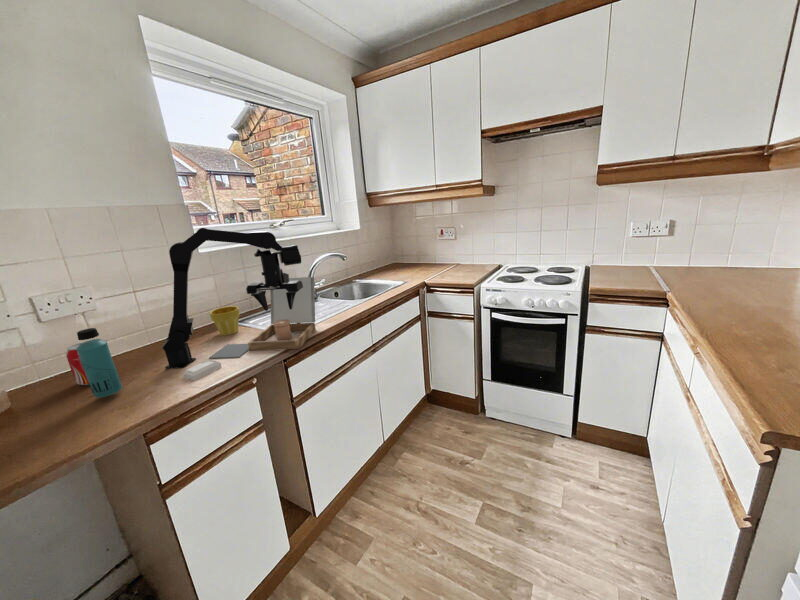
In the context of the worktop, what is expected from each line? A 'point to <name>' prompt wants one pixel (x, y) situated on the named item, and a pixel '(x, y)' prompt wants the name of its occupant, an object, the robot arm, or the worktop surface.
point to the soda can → (76, 365)
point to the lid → (294, 303)
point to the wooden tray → (260, 344)
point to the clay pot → (282, 329)
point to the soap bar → (201, 369)
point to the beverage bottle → (98, 364)
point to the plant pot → (226, 319)
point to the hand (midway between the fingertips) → (278, 309)
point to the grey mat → (231, 351)
